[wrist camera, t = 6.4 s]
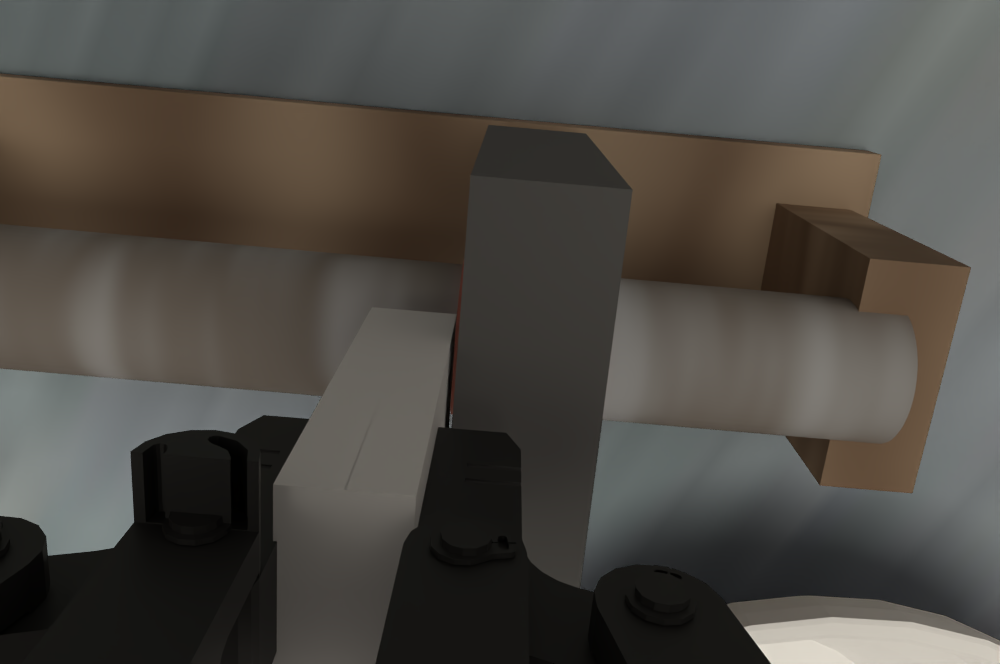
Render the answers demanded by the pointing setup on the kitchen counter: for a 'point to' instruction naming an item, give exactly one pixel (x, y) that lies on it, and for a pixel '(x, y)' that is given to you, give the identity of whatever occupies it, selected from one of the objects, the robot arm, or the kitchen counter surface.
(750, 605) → the bowl
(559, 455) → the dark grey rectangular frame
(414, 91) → the kitchen counter surface
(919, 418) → the pipe stand
